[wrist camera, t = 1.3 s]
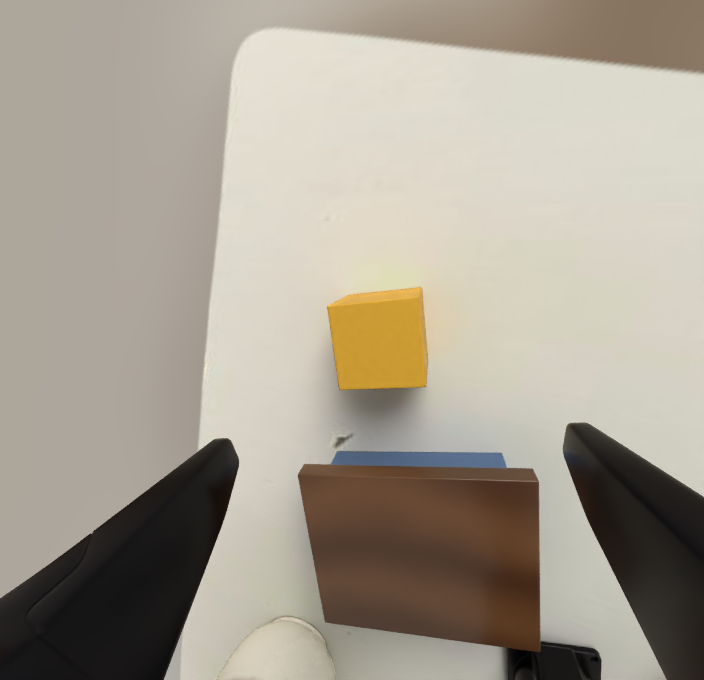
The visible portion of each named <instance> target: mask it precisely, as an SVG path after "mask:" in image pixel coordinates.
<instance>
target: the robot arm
mask: <svg viewBox="0 0 704 680" xmlns="http://www.w3.org/2000/svg"><path fill="white" fill-rule="evenodd" d="M563 454H564V458H565V460H566V463H567V466H568V469H569V471H570V474H571V477H572V479H573V482H574V485H575V488H576V490H577V493H578V496H579V498H580V501H581V504H582V507H583V509H584V512H585V514H586V517H587V519H588V521H589V523H590V526H591V528H592V530H593V532H594V534H595V536H596V538H597V540H598V542H599V544H600V546H601V548H602V550H603V552H604V554H605V556H606V558H607V560H608V562H609V564H610V566H611V568H612V570H613V572H614V574H615V576H616V578H617V580H618V582H619V584H620V586H621V588H622V590H623V592H624V594H625V596H626V598H627V600H628V602H629V604H630V606H631V608H632V610H633V612H634V614H635V616H636V618H637V620H638V622H639V624H640V626H641V628H642V630H643V632H644V634H645V636H646V638H647V640H648V642H649V644H650V646H651V648H652V650H653V652H654V654H655V656H656V658H657V661H658V663H659V665H660V667H661V669H662V671H663V673H664V675H665V677H666V679H667V680H704V497H703V496H701V495H700V494H698V493H697V492H695V491H694V490H692V489H691V488H689V487H687V486H686V485H684V484H683V483H681V482H680V481H678V480H676V479H675V478H673V477H672V476H670V475H669V474H667V473H665V472H664V471H662V470H661V469H659V468H658V467H656V466H654V465H653V464H651V463H650V462H648V461H647V460H645V459H643V458H642V457H640V456H639V455H637V454H636V453H634V452H632V451H631V450H629V449H628V448H626V447H625V446H623V445H622V444H620V443H618V442H617V441H615V440H614V439H612V438H611V437H609V436H607V435H606V434H604V433H603V432H601V431H600V430H598V429H596V428H595V427H593V426H592V425H590V424H588V423H570V424H568V425H567V427H566V432H565V438H564V444H563ZM238 467H239V458H238V456H237V453H236V451H235V449H234V447H233V444H232V442H231V440H229V439H227V438H221V439H214V440H213V441H211V442H210V443H209V444H207V445H206V446H205V447H203V448H202V449H201V450H200V451H198V452H197V453H196V454H194V455H193V456H192V457H190V458H189V459H188V460H186V461H185V462H184V463H183V464H181V465H180V466H179V467H178V468H176V469H175V470H173V471H172V472H171V473H169V474H168V475H167V476H165V477H164V478H163V479H161V480H160V481H159V482H158V483H156V484H155V485H154V486H152V487H151V488H150V489H148V490H147V491H146V492H144V493H143V494H142V495H140V496H139V497H138V498H136V499H135V500H134V501H133V502H131V503H130V504H129V505H127V506H126V507H125V508H123V509H122V510H121V511H119V512H118V513H117V514H115V515H114V516H113V517H111V518H110V519H109V520H108V521H106V522H105V523H104V524H102V525H101V526H100V527H98V528H97V529H96V530H94V531H93V533H92V534H89V535H88V536H86V537H85V538H84V539H83V540H81V541H80V542H79V543H77V544H76V545H75V546H73V547H72V548H71V549H69V550H68V551H67V552H65V553H64V554H63V555H61V556H60V557H58V558H57V559H56V560H54V561H53V562H52V563H50V564H49V565H48V566H46V567H45V568H43V569H42V570H41V571H39V572H38V573H36V574H35V575H34V576H32V577H31V578H29V579H28V580H26V581H25V582H23V583H22V584H20V585H19V586H18V587H16V588H15V589H13V590H12V591H10V592H9V593H7V594H6V595H4V596H3V597H2V598H0V680H164V677H165V675H166V672H167V669H168V667H169V664H170V662H171V658H172V656H173V653H174V651H175V648H176V646H177V643H178V640H179V638H180V635H181V632H182V630H183V627H184V624H185V622H186V619H187V617H188V614H189V611H190V609H191V606H192V603H193V601H194V598H195V595H196V593H197V590H198V587H199V585H200V582H201V579H202V577H203V574H204V572H205V569H206V566H207V564H208V561H209V558H210V556H211V553H212V550H213V548H214V545H215V542H216V540H217V537H218V534H219V532H220V529H221V526H222V524H223V521H224V518H225V515H226V511H227V508H228V504H229V501H230V497H231V493H232V489H233V486H234V482H235V478H236V475H237V471H238ZM506 658H507V680H601V657H600V655H599V653H598V651H597V650H595V649H592V648H585V647H577V646H570V645H562V644H555V643H547V642H540V652H534V651H527V650H520V649H513V648H506Z"/></svg>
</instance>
